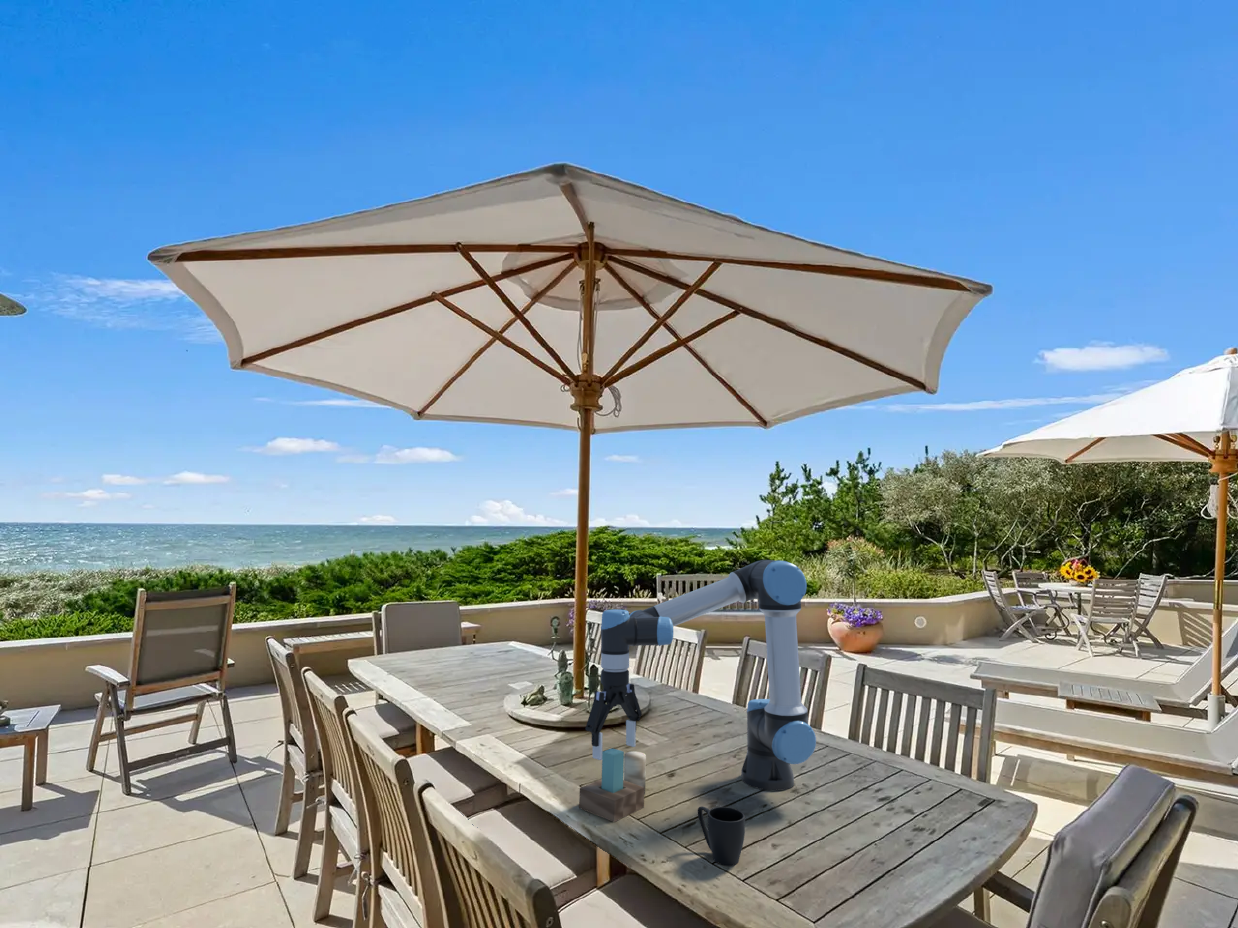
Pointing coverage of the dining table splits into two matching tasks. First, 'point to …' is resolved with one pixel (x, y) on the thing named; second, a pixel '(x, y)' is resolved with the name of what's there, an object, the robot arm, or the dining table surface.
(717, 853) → the mug
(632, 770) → the round dowel
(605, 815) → the socket block
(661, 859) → the dining table surface
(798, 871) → the dining table surface
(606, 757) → the square bit
